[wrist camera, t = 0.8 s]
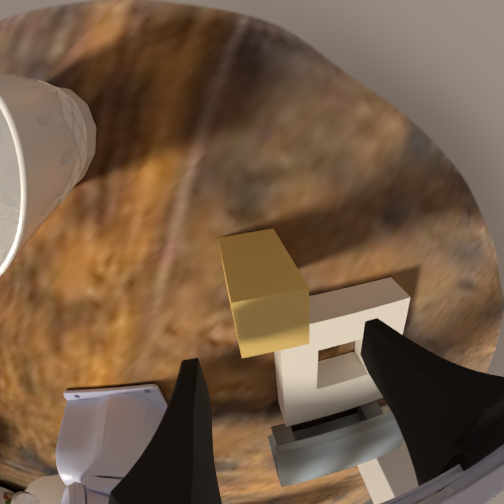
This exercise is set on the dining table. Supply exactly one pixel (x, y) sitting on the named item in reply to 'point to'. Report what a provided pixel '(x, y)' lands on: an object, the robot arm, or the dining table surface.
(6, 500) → the spread jar
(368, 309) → the socket
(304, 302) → the peg
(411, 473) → the milk carton
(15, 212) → the white cup
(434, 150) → the dining table surface
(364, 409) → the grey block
